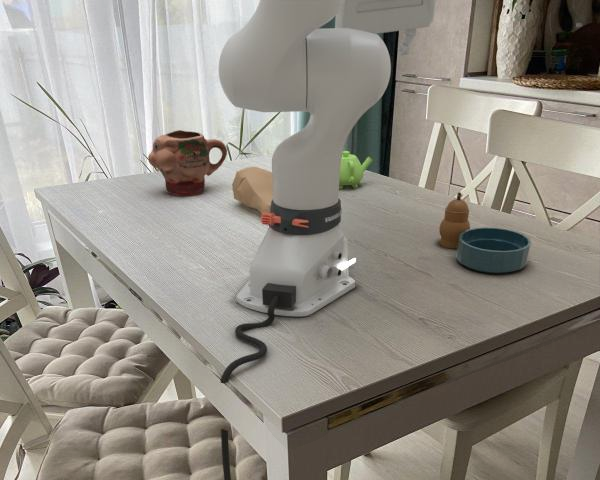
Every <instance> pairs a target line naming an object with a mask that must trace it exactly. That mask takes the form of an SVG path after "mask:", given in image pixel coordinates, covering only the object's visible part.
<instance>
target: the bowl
mask: <svg viewBox="0 0 600 480" xmlns="http://www.w3.org/2000/svg"><path fill="white" fill-rule="evenodd" d="M531 247H532V240H531V238H529V237H528V236H527V235H525V234H523V233H521V232H519V231H517V230H512V229H508V228H502V227H490V226H489V227H487V226H486V227H474V228H470V229H469V230H466V231H464V232H462V233H461V234H460V235H459V238H458V245H457V248H456V253H455V257H456V261H458V262H459V263H460V264H461V265H463V266H465V267H466V268H468V269H471V270H473V271H476V272H480V273H485V274H507V273H513V272H515V271H519V270H522V269H523V268H525V267H526V266H527V264H528V261H529V256H530V252H531Z"/></svg>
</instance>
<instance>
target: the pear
mask: <svg viewBox="0 0 600 480" xmlns="http://www.w3.org/2000/svg"><path fill="white" fill-rule="evenodd" d="M463 196H464V194H462V193H461V192H460V191H459V192H457V195H456V198H455V199H452V200H451V201H450V202H449V203H448V204H447V205H446V207H445V210H444V218H443V219H442V220H441V221H440V225H439V236H440V241H439V244H440V246H442V247H443V248H446V249H455V250H457V245H458V238H459V235H460V234H461V233H462V232H464V231H466V230H469V229H471V224H470V220H469V213H470V208H469V205H468V203H467V201H465V200H464V199H462V197H463Z"/></svg>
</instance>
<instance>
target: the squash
mask: <svg viewBox="0 0 600 480" xmlns="http://www.w3.org/2000/svg"><path fill="white" fill-rule="evenodd" d="M231 186H232V192H233V194H232V195H233V199H234V200H236V201H238V202H240V203H241V204H243V205H245V206H246V207H248V208H251V209H254V210H256V211H258V212H259V213H260V216H262V213H263V212H268V213H269V209H270V207H271V201H272V200H273V180H272V171H269V170H267V169H264V168H260V167H259V166H249V167H248V166H247V167H244V168H242V169H239V170H237V171H236V173H235V176H234V178H233V181H232V184H231Z"/></svg>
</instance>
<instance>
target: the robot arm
mask: <svg viewBox="0 0 600 480" xmlns="http://www.w3.org/2000/svg"><path fill="white" fill-rule="evenodd" d="M435 5H436V0H259V2H258V5H257V7H256V9H255V11H254V13H253V14H252V16H251V17H250V19H249V20H248V22H247V23H246V24H244V26H243V27H242V28H240V30H238V31H237V32H236V33H234V34H232V35H231V36H230V37H229V38H228V39H227V40H226V42H225V43H224V45H223V47H222V49H221V53H220V55H219V60H218V78H219V82H220V86H221V88H222V91H223V93H224V95H225V96H226V98H227V99H228V101H229V102H230V103H231V105H233V106H234V107H235V108H239V109H244V110H249V111H255V112H260V113H291V112H292V113H293V112H295V113H296V112H305V113H309V114H310V115H309V119H308V121H307V123H306V125H305V126H304V127H303V128H302V129H301V130H299V131H297V132H295V133H294V134H292V135H290V136H288V137H286V138H285V139H284V140H283V141H281V142H280V143H279V144H278V145H277V146H276V148H275V149H274V151H273V153H272V157H271V172H272V180H273V200H272V201H271V207H270V209H269V213H268V212H263V213H262V215H260V223H261V224H262V225H268V228H267V230H266V232H265V235H264V237H263V238H262V240H261V242H260V244H259V247H258V248H257V251H256V252H255V254H254V257H253V259H252V261H251V262H250V266H249V279H248V281H247V282H246V283H245V285H244V286H243V287H242V288H241V289H240V291H239V292H238V293H237V295H236V300H235V301H236V302H237V303H238V304H239V305H240V306H243V307H244V308H247V309H249V310H252V311H256V312H259V313H260V312H261V313H263V314H267V316H268V317H267V319H265V320H264V321H261V322H253V323H252V322H251V323H250V322H249V323H241V324H238V325H237V326H236V327H235V329H234V333H235V336H236V337H237V338H238V339H240V340H242V341H244V342H246V343H249V344H251V345H253V346H256V347H258V348H259V349H260V350H259V351H257V352H254V353H252V354H247V355H244V356H242V357H239V358H237V359H235V360H233V361H232V362H231V363H229V364H228V365H227V367H226V368H225V369H224V371H223V373H222V374H221V377H220V382H219V383H220V384H227V383H228V381H229V380H230V377H231V376H232V374H233V372H234V371H235V370H236V369H237V368H239V367H240V366H243V365H245V364H247V363H248V364H249V363H252V362H254V361H255V362H256V361H257V360H261V359H262V358H264V357H265V356H266V355H267V353H268V347H267V345H266V343H265V342H263V340H260V339H259V338H256V337H254V336H251V335H248V334H246V333H244V332H243V331H249V330H253V329H254V330H255V329H260V328H265V327H269V326H271V325H272V323H274V321H275V319H276V317H275V316H280V317H292V318H293V317H298V318H299V317H309V316H311V315H313V314H314V313H316V312H318V311H319V310H321V309H322V308H323V307H326V306H327V305H329V304H330V303H332V302H334V301H335V300H337V299H338V298H340V297H342V296H343V295H345V294H346V293H348V292H350V291H352V290H353V289H355V288H356V280H355V278H352V277H351V276H350V274H349V273H350V272H349V271H350V270H349V267H350V266H352V265H353V264H355V263H356V262H357V261H356V260H357V258H356V257H354V258H352V259H349V249H348V248H349V247H348V239H347V237H346V236H345V235H344V233H343V231H342V229H341V226H340V223H341V221H342V213H343V212H342V200H341V199H340V198H339V197H340V196H339V193H340V189H339V176H340V166H341V158H342V153H343V151H344V148H345V145H346V142H347V140H348V137H349V135H350V133H351V132H352V130H353V128H354V127H355V125H356V124H357V123H358V121H359V120H360V119H361V117H362V116H363V115H364V114H365V113H366V112H367V111H368V110H369V109H371V108H372V107H374V106H375V105H376V104H377V103H378V102H379V101H380V99H381V98H382V97H383V95H384V94H385V92H386V90H387V88H388V85H389V82H390V78H391V72H392V63H391V57H390V53H389V50H388V47H387V45H386V43H385V42H384V40H383V38H381V36H380V35H379V34H384V33H392V32H398V31H399V32H400V31H404V32H403V33H404V34H405V37H404V39H403V41H402V43H399V44H398V51H397V52H398V53H397V54H398V55H400V56H406V55H409V53H410V45H411V44H412V42H413V40H414V39H415V36H416V31H417V29H421V28H429V27H430V26H431V25H432V23H433V21H434V19H435V18H434V17H435ZM333 19H335V20H334V27H333V28H332V27H331V28H322V27H323V26H324V25H326V24H327V23H330V21H332V20H333ZM220 439H221V440H220V441H221V444H220V445H221V458H222V459H221V460H222V468H223V469H222V470H223V471H222V472H223V480H232V476H231V475H232V474H231V464H230V447H229V446H230V445H229V430H227V429H224V428H220Z"/></svg>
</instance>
